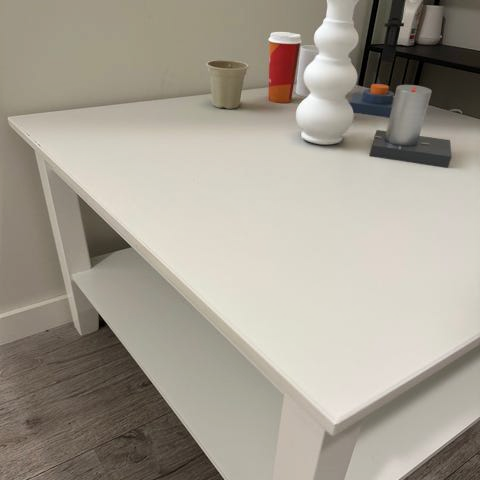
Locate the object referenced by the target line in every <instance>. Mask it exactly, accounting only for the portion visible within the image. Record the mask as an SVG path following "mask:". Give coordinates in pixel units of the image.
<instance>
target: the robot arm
mask: <svg viewBox="0 0 480 480" xmlns="http://www.w3.org/2000/svg"><path fill="white" fill-rule="evenodd" d="M406 1H407V0H391V5H390V12H389V16H388V19H387V22H384V27H386V32H385V36H384V41H383V42H384V43H383V47H382V53H381V58H380V61H381V62H389V63H390V62H391V63H394V61H395V57H396V51H397V46H398V41H399V37H400V32H401V28H403V27H404V26H405V22H403V17H404V12H405V11H404V10H405V6H406Z"/></svg>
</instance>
